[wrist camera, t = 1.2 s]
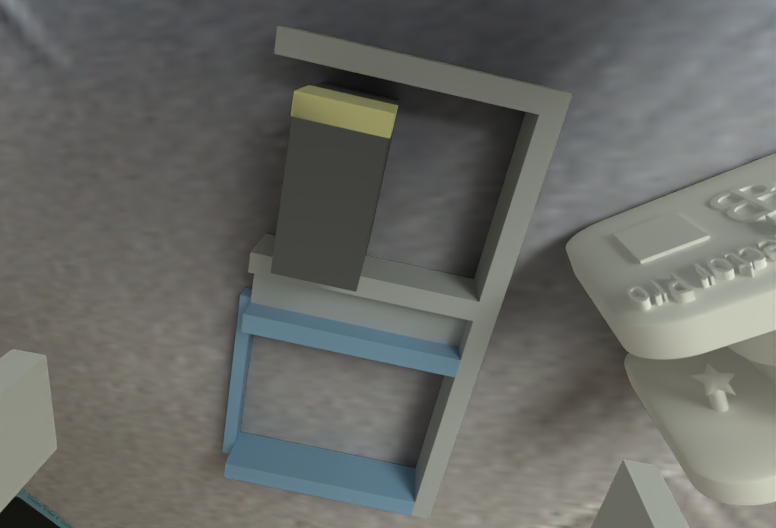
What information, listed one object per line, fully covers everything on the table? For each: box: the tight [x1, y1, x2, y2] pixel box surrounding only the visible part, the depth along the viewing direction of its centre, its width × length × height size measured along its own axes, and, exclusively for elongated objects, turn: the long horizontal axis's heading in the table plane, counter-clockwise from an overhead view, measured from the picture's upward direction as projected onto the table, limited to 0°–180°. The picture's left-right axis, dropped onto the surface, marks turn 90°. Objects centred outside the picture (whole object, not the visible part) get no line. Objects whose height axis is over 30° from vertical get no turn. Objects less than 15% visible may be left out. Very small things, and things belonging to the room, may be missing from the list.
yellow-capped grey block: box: [270, 82, 400, 292], centre depth 26 cm, size 8×4×7 cm, turn 168°
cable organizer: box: [566, 153, 776, 506], centre depth 24 cm, size 15×11×12 cm
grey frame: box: [222, 25, 573, 519], centre depth 30 cm, size 27×14×3 cm, turn 168°
